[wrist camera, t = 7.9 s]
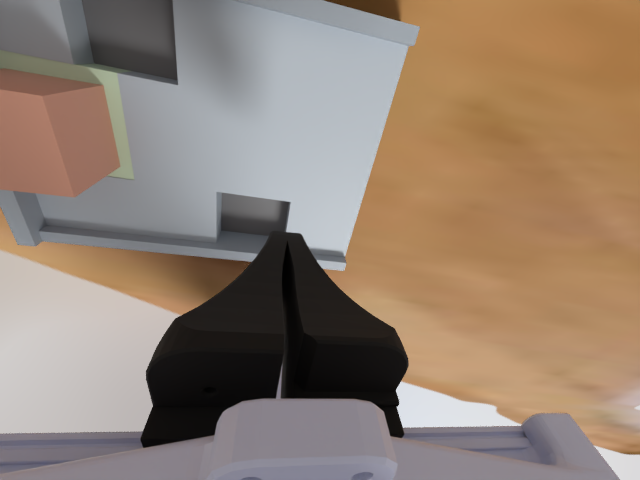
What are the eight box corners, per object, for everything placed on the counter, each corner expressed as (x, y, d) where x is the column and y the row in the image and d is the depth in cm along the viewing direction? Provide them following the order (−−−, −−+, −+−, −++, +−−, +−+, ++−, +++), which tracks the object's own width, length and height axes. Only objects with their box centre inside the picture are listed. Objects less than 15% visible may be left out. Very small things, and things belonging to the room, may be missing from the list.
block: (120, 166, 17) (74, 197, 14) (36, 155, 17) (-36, 185, 13) (103, 85, 15) (42, 95, 11) (4, 68, 14) (-96, 74, 11)
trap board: (338, 250, 25) (345, 275, 22) (54, 218, 21) (17, 244, 18) (401, 30, 17) (424, 25, 14) (-56, -93, 13) (-156, -135, 10)
